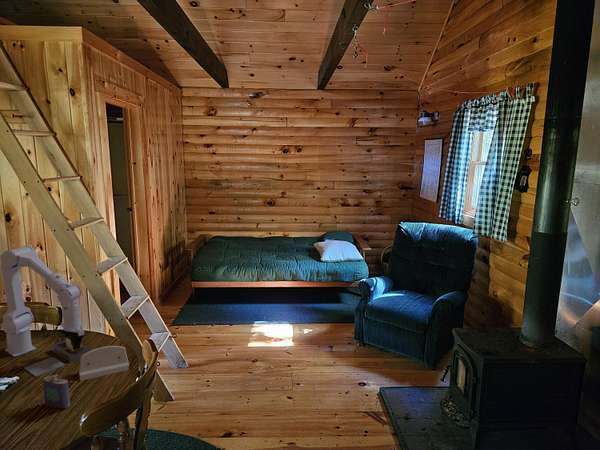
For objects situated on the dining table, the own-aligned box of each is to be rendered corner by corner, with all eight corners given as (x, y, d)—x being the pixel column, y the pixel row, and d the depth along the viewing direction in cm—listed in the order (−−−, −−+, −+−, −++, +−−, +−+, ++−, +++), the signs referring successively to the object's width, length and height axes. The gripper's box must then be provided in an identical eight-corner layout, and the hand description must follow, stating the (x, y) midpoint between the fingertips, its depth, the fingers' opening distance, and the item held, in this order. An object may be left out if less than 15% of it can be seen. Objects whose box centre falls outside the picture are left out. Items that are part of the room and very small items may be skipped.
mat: (24, 368, 144) (24, 367, 144) (53, 357, 152) (52, 356, 152) (35, 377, 138) (35, 376, 138) (65, 365, 147) (64, 364, 147)
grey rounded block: (79, 381, 137) (77, 352, 138) (79, 378, 141) (78, 351, 142) (129, 369, 144) (127, 342, 146) (128, 367, 149) (126, 341, 150)
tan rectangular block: (67, 355, 154) (65, 337, 152) (77, 351, 157) (76, 333, 156) (72, 358, 152) (70, 340, 150) (82, 354, 155) (80, 336, 154)
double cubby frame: (51, 350, 157) (50, 345, 157) (71, 343, 164) (70, 338, 164) (69, 362, 149) (69, 356, 148) (90, 354, 155) (90, 348, 155)
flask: (72, 405, 123) (69, 375, 121) (64, 410, 120) (61, 380, 119) (49, 400, 126) (46, 370, 124) (41, 405, 123) (38, 375, 121)
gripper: (90, 316, 151) (93, 348, 153) (73, 308, 159) (75, 338, 161) (72, 322, 145) (75, 355, 147) (54, 313, 153) (57, 345, 155)
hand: (74, 347), depth 154 cm, fingers closed on tan rectangular block, 4 cm apart
